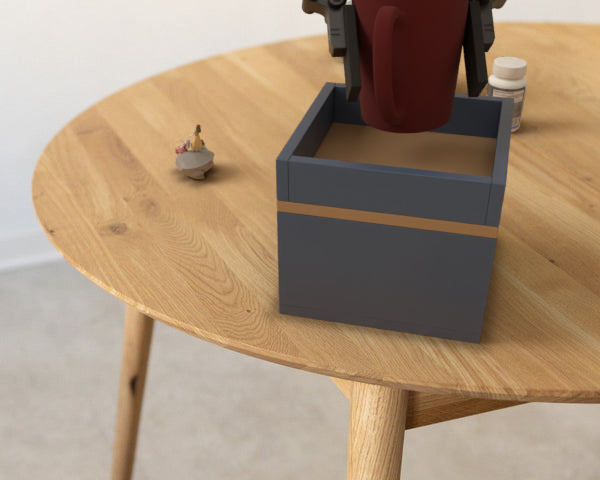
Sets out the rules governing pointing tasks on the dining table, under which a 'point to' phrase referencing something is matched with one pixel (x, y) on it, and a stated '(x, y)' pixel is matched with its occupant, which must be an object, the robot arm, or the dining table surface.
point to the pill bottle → (509, 84)
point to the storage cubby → (392, 217)
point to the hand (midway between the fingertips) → (416, 92)
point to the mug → (409, 61)
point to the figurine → (194, 156)
